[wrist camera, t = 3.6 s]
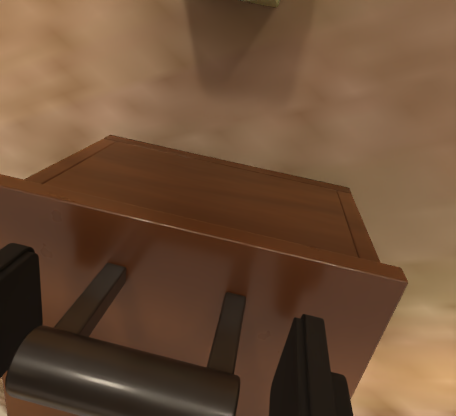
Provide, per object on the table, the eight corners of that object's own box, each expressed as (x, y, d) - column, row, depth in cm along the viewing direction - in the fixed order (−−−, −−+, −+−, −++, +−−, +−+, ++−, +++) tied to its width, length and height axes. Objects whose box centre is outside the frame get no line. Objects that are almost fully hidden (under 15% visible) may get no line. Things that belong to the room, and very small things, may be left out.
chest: (109, 134, 20) (-5, 192, 12) (349, 187, 19) (391, 286, 12) (102, 336, 27) (26, 457, 19) (280, 382, 26) (277, 528, 18)
